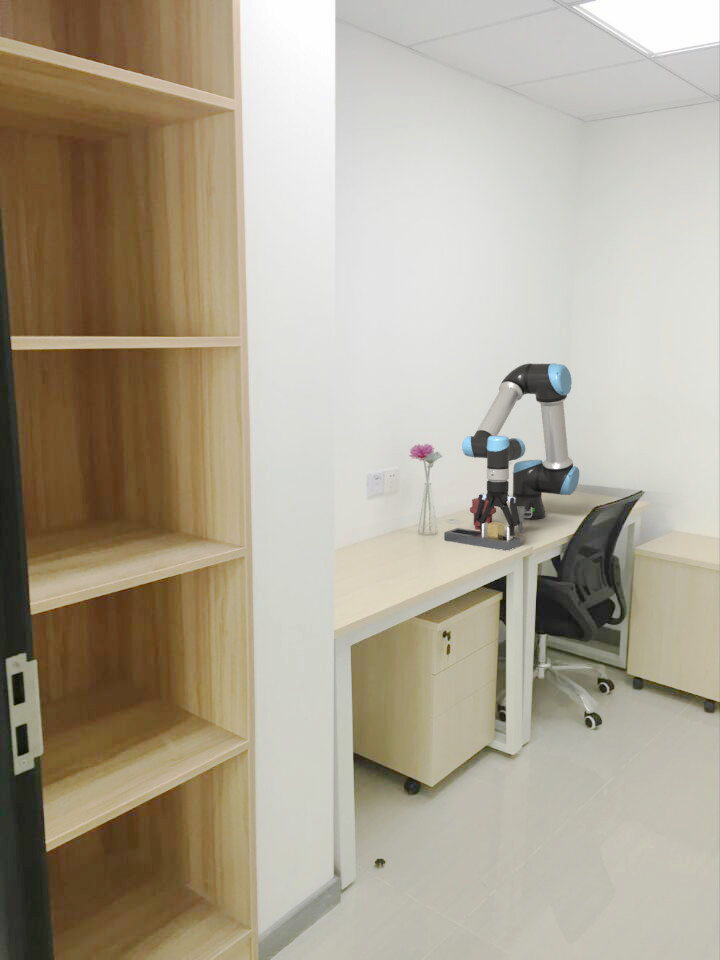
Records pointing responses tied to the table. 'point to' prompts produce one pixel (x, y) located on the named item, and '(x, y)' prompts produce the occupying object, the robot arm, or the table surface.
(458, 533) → the rack frame
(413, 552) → the table surface
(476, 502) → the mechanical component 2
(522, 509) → the mechanical component
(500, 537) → the brushed brass bar
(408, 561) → the table surface
